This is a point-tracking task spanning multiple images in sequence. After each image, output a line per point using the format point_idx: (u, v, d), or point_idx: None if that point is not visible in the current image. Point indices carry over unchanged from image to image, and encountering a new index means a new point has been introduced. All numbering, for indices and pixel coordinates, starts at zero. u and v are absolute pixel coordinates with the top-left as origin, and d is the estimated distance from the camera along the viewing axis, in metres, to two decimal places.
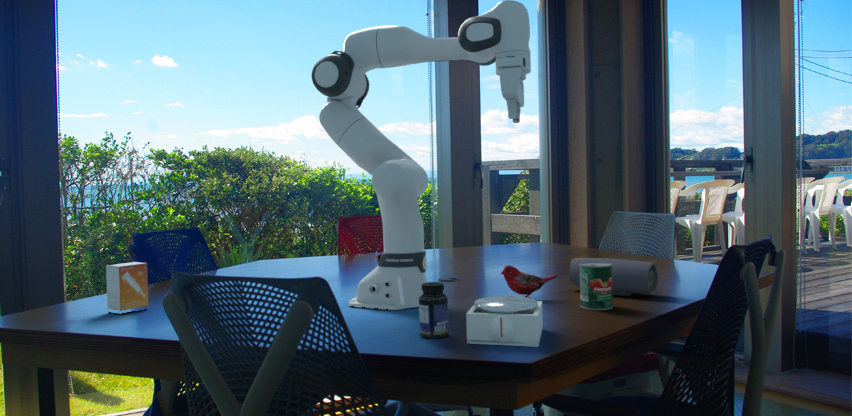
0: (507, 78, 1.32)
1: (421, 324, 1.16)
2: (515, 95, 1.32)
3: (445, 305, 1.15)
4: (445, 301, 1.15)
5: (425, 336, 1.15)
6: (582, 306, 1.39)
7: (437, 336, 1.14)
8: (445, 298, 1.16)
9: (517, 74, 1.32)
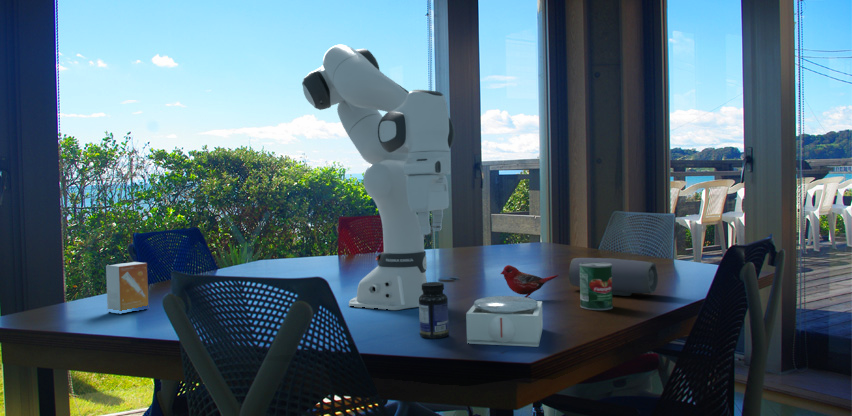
0: (415, 190, 1.07)
1: (421, 324, 1.16)
2: (425, 211, 1.07)
3: (445, 305, 1.15)
4: (445, 301, 1.15)
5: (425, 336, 1.15)
6: (582, 306, 1.39)
7: (437, 336, 1.14)
8: (445, 298, 1.16)
9: (427, 185, 1.06)
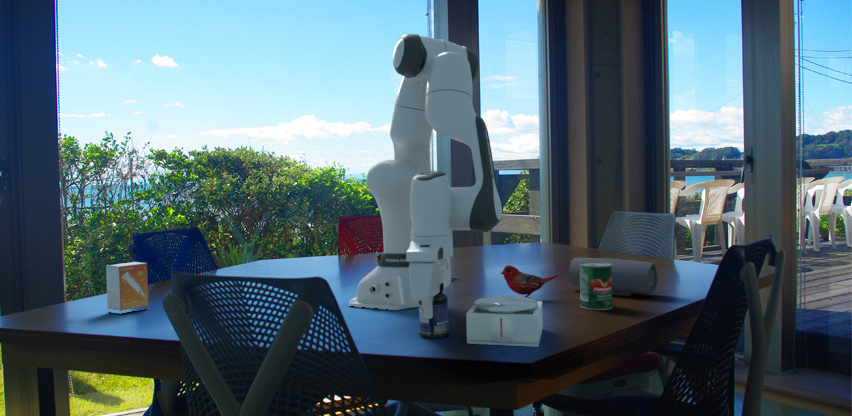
0: (417, 278, 1.08)
1: (421, 324, 1.16)
2: (427, 299, 1.08)
3: (445, 305, 1.15)
4: (445, 301, 1.15)
5: (425, 336, 1.15)
6: (582, 306, 1.39)
7: (437, 336, 1.14)
8: (445, 298, 1.16)
9: (429, 274, 1.07)
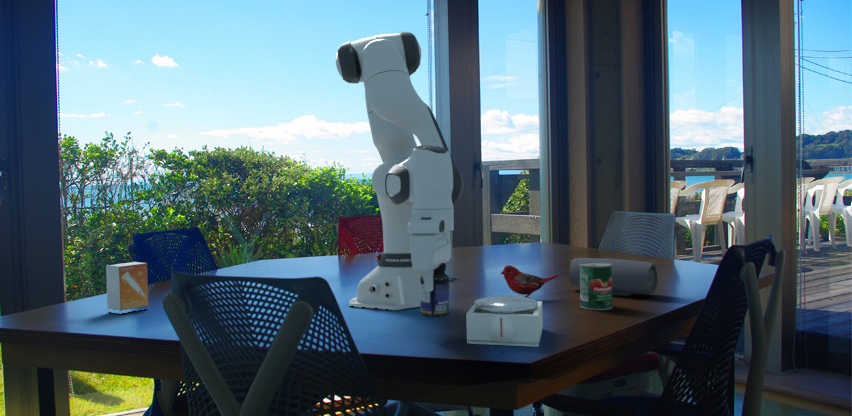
0: (418, 250, 1.07)
1: (422, 303, 1.16)
2: (428, 271, 1.08)
3: (446, 285, 1.15)
4: (446, 281, 1.15)
5: (426, 315, 1.15)
6: (582, 306, 1.39)
7: (438, 315, 1.14)
8: (447, 278, 1.16)
9: (431, 246, 1.07)
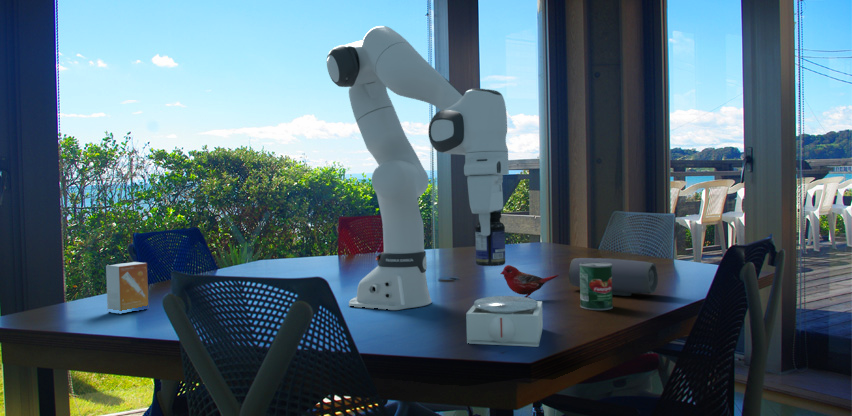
0: (476, 191, 1.05)
1: (478, 252, 1.13)
2: (487, 212, 1.05)
3: (503, 233, 1.13)
4: (503, 229, 1.13)
5: (482, 264, 1.13)
6: (582, 306, 1.39)
7: (495, 263, 1.12)
8: (503, 226, 1.13)
9: (489, 186, 1.05)
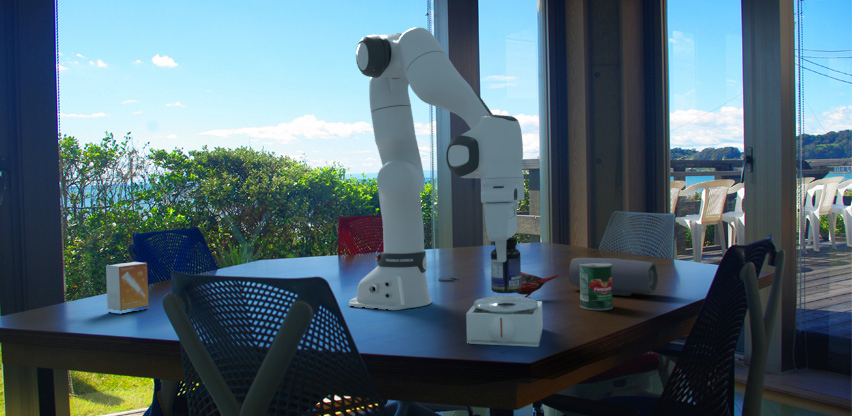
0: (494, 218, 1.05)
1: (494, 279, 1.13)
2: (504, 240, 1.05)
3: (519, 260, 1.13)
4: (519, 256, 1.13)
5: (498, 291, 1.13)
6: (582, 306, 1.39)
7: (511, 291, 1.12)
8: (519, 253, 1.13)
9: (507, 214, 1.05)
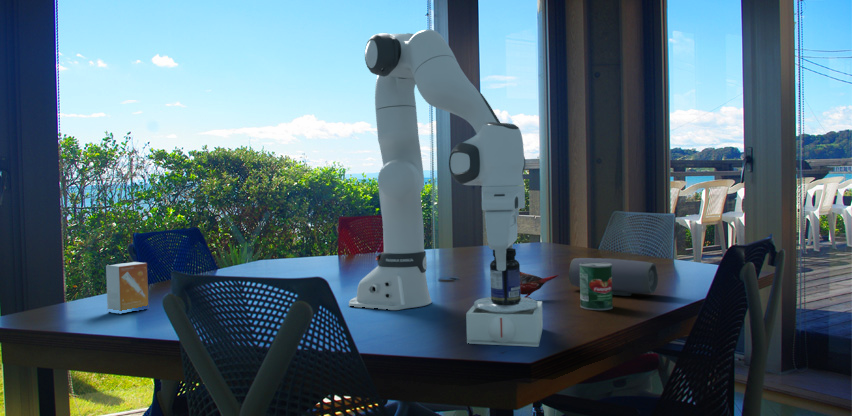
0: (494, 227, 1.05)
1: (493, 290, 1.14)
2: (505, 248, 1.05)
3: (518, 271, 1.13)
4: (518, 267, 1.13)
5: (498, 302, 1.13)
6: (582, 306, 1.39)
7: (511, 302, 1.12)
8: (518, 263, 1.14)
9: (507, 222, 1.05)
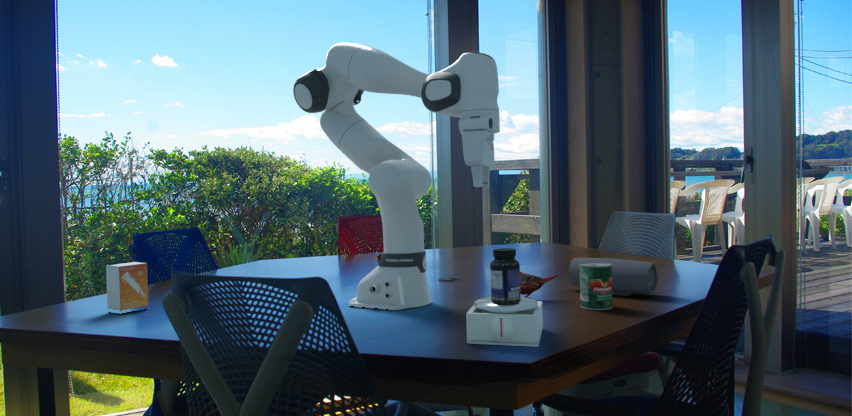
0: (470, 144, 1.15)
1: (493, 290, 1.14)
2: (480, 163, 1.15)
3: (518, 271, 1.13)
4: (518, 267, 1.13)
5: (498, 302, 1.13)
6: (582, 306, 1.39)
7: (511, 302, 1.12)
8: (518, 263, 1.14)
9: (482, 139, 1.14)
